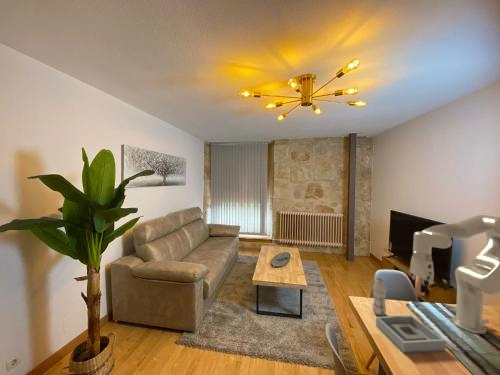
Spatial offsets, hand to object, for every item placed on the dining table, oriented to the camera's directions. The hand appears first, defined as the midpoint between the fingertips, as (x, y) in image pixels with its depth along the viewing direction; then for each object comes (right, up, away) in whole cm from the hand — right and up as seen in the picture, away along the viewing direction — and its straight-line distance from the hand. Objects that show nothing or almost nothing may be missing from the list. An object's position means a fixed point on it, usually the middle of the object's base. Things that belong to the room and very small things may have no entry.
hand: (420, 289), depth 111 cm
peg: (0, -2, 0) cm, 2 cm away
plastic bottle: (-15, -19, +11) cm, 27 cm away
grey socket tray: (-13, -20, -8) cm, 25 cm away
